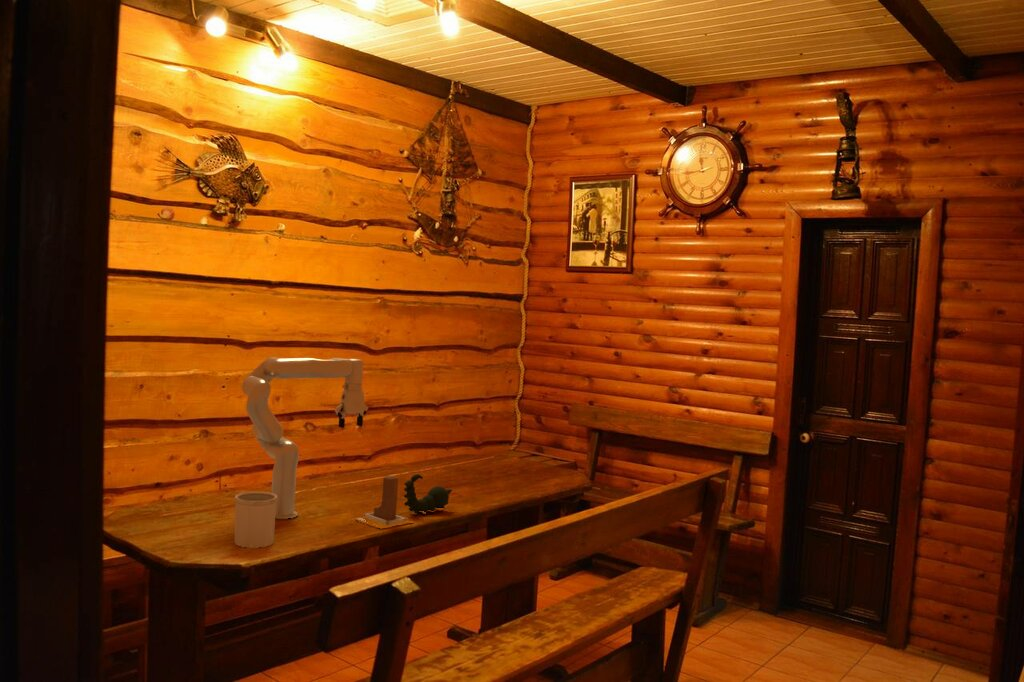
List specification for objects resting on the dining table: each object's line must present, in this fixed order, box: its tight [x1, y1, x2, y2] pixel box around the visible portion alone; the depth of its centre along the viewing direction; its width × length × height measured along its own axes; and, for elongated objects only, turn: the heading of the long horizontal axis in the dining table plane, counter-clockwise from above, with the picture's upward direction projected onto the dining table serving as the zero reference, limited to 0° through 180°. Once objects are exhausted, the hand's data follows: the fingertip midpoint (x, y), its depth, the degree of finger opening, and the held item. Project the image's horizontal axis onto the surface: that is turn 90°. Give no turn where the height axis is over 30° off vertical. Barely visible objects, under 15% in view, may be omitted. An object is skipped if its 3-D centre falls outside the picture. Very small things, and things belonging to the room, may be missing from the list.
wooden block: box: [373, 476, 399, 521], centre depth 353 cm, size 9×4×18 cm, turn 51°
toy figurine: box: [403, 473, 453, 514], centre depth 373 cm, size 9×19×25 cm
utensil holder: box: [234, 490, 277, 549], centre depth 311 cm, size 15×15×18 cm
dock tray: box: [355, 511, 407, 526], centre depth 353 cm, size 18×16×2 cm
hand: (350, 426), depth 367 cm, fingers open, 9 cm apart
